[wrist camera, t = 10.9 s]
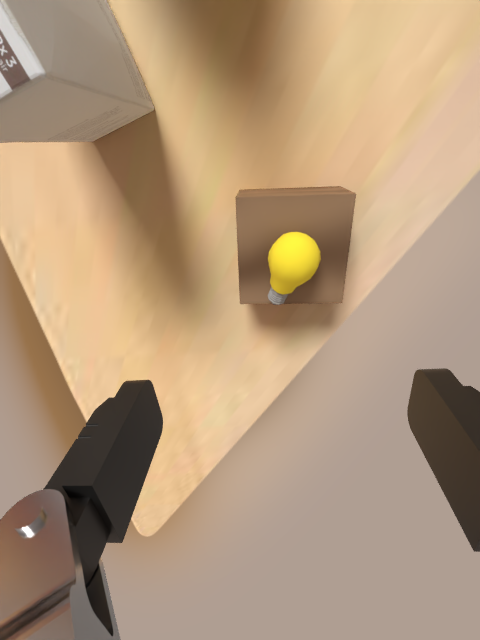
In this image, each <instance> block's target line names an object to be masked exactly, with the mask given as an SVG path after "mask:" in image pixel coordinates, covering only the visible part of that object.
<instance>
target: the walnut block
mask: <svg viewBox="0 0 480 640" xmlns="http://www.w3.org/2000/svg"><path fill="white" fill-rule="evenodd" d="M355 198H356V193H353V192H351V191H349V190H347V189H345V188H343V187H340V186H338V187H308V188H279V189H249V190H239V192H238V194H237V196H236V219H237V243H238V267H239V291H240V304H272V302H271V301H270V300H269V299H268V294H269V291H270V289H271V284H270V278H271V273H270V268H269V262H268V255H269V251H270V249H271V247H272V246H273V244H274V243H275V242H276V241H277V239H278V238H279V237H281V236H282V235H283V234H286V233H289V232H301V233H304V234H307V235H308V236H310V237H311V238H313V239H314V240H315V242H316V244H317V246H318V248H319V250H320V254H321V260H320V263H319V266H318V268H317V270H316V272H315V273H314V275H313V276H312V277H311V279H309V280H308V281H306V282H305V283H303V284H301V285H300V286H298V287H296V288H295V290H294V291H293V292H292V293H289V294H288V296H287V298H286V300H285V302H284V303H283V304H292V303H342V299H343V291H344V283H345V276H346V268H347V260H348V252H349V245H350V237H351V229H352V221H353V213H354V206H355Z"/></svg>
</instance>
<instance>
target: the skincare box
mask: <svg viewBox="0 0 480 640" xmlns="http://www.w3.org/2000/svg"><path fill="white" fill-rule="evenodd" d="M153 110H154V106H153V103H152V100H151V98H150V96H149V93H148V91H147V89H146V86H145V84H144V82H143V80H142V77H141V75H140V73H139V70H138V68H137V66H136V63H135V61H134V59H133V56H132V54H131V52H130V50H129V48H128V45H127V43H126V41H125V39H124V36H123V34H122V32H121V29H120V27H119V25H118V23H117V20H116V18H115V16H114V14H113V12H112V10H111V8H110V6H109V4H108V2H107V0H0V143H5V142H93V141H95V140H97V139H99V138H101V137H103V136H105V135H107V134H109V133H111V132H113V131H114V130H116V129H118V128H120V127H122V126H124V125H126V124H128V123H130V122H132V121H134V120H136V119H138V118H140V117H142V116H144V115H146V114H148V113H150V112H152V111H153Z"/></svg>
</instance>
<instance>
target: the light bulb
mask: <svg viewBox="0 0 480 640" xmlns="http://www.w3.org/2000/svg"><path fill="white" fill-rule="evenodd" d="M320 260H321V254H320V250H319V248H318V246H317V244H316V242H315V240H314V239H313V238H311V237H310V236H308V235H307V234H304V233H301V232H289V233H286V234H283V235H282V236H281V237H279V238H278V239H277V241H276V242H275V243H274V244H273V246H272V247H271V249H270V251H269V255H268V262H269V268H270V273H271V278H270V284H271V289H270V291H269V294H268V299H269V300H270V301H271V302H272V304H274V305H280V304H283V303H284V302H285V300H286V298H287V296H288V294H289V293H292V292H293V291H294V290H295V288H296V287H298V286H300V285H301V284H303V283H305V282H306V281H308V280H309V279H311V277H312V276H313V275H314V273H315V272H316V270H317V268H318V266H319V263H320Z"/></svg>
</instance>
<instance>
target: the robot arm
mask: <svg viewBox="0 0 480 640" xmlns="http://www.w3.org/2000/svg"><path fill="white" fill-rule="evenodd" d="M408 421H409V425H410V428H411V430H412V432H413V434H414V436H415V438H416V440H417V442H418V444H419V446H420V448H421V450H422V452H423V453H424V456H425V458H426V460H427V461H428V463H429V465H430V467H431V469H432V471H433V473H434V475H435V476H436V478H437V481H438V483H439V485H440V486H441V489H442V490H443V492H444V494H445V496H446V498H447V500H448V502H449V504H450V506H451V508H452V510H453V512H454V514H455V516H456V517H457V519H458V521H459V523H460V525H461V527H462V529H463V531H464V533H465V535H466V537H467V539H468V541H469V542H470V545H471V547H472V548H473V550H474V551H480V392H479V391H478V390H476V389H474V388H473V387H471V386H463V385H462V384H461V383H460V382H459V381H458V379H457V378H456V377H455V376H454V375H453V373H452V372H451V371H450V370H448V369H424V370H423V369H422V370H417V371H416V372H415V375H414V379H413V384H412V389H411V394H410V399H409V405H408ZM162 428H163V418H162V413H161V410H160V407H159V403H158V400H157V397H156V393H155V390H154V387H153V384H152V382H151V381H150V380H136V381H125V382H124V383H123V384H122V386H121V387H120V389H119V391H118V392H117V394H116V396H115V397H114V398H108V399H107V400H106V401H105V402H104V403H102V404H101V405H100V406H99V407H98V408H97V409H96V410H95V411H94V412H93V414H92V415H91V417H90V418H89V420H88V422H87V423H86V427H84V428H83V429H82V431H81V432H80V434H79V436H78V439H76V440H75V442H74V443H73V445H72V447H71V448H70V449H69V451H68V453H67V454H66V456H65V457H64V459H63V460H62V462H61V464H60V465H59V467H58V468H57V470H56V471H55V473H54V474H53V476H52V477H51V479H50V481H49V482H48V484H47V485H46V487H45V488H44V489H43V490H39V491H36V492H34V493H32V494H29V495H28V496H26V497H24V498H23V499H21V500H20V501H18V502H17V503H16V504H15V505H14V506H13V507H11V508H10V509H9V510H8V511H7V512H6V514H5V515H4V516H3V517H2V519H0V640H121V639H120V636H119V632H118V627H117V623H116V618H115V614H114V610H113V605H112V601H111V596H110V592H109V588H108V583H107V579H106V574H105V570H104V566H103V562H102V559H101V555H102V553H103V550H104V548H105V545H106V543H107V542H108V543H122V542H123V539H124V536H125V534H126V531H127V528H128V525H129V522H130V520H131V517H132V514H133V511H134V509H135V506H136V503H137V500H138V498H139V495H140V492H141V489H142V486H143V484H144V481H145V478H146V475H147V473H148V470H149V467H150V464H151V461H152V459H153V456H154V453H155V450H156V448H157V445H158V442H159V439H160V436H161V433H162Z"/></svg>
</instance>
